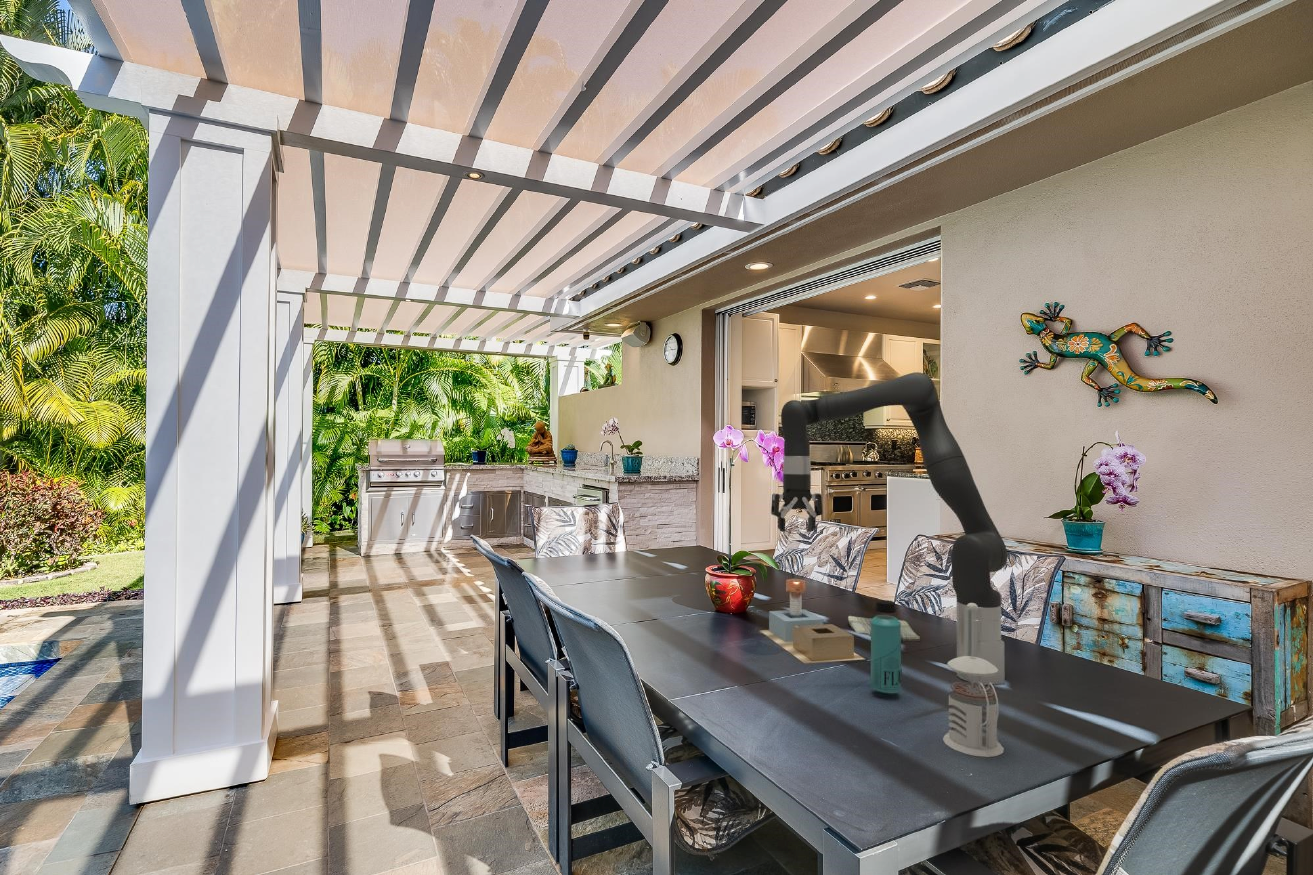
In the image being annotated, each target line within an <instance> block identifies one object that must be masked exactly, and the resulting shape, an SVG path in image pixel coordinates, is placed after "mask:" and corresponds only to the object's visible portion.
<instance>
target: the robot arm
mask: <svg viewBox="0 0 1313 875" xmlns="http://www.w3.org/2000/svg"><path fill="white" fill-rule="evenodd" d="M890 406H902V407H903V408H902V409H904V410H905V412H906V414H907V415H908V417H909V419H910V422H911V424H912V426H913V427H914V429H915V433H916V435H917V438H918V443H919V447H920V453H921V457H922V460H923V464H924V467H925V470H926V473H927V475H928V478H929V480H930V483H931V485H932V487H933V489H934V491H935V492H936V493H937V495H938V496H939V497H940V498H941V499H942V501H943V502H944V504H946V505H947V506H948V507H949V509H950V510H952V511H953V513H954V514H955V516H956V517H957V519H958V521H959V523H960V524H961V527H962V529H963V531H964V534H963V535H960V536H959V537H957V538H956V539H955V541H953V544H952V547H951V552H950V554H951V555H950V556H951V557H950V559H951V577H952V580H951V581H952V582H951V583H952V587H953V590H954V592H955V596H956V597H955V598H956V658H958V657H962V656H972V620H971V610H968V609H966V608H967V605H968V604H969V603H975V604H976V605H977V606H978V610H977V611H973V656H974V657H978V658H982V659H984V660H986V661H988V662H989V663H991V664H992V665H994V666H995V667H996V668H997V669H998V671H997V673H996V674H994V675H991V676H973V683H974V684H975V683H976V684H979V683H980V682H981V683H982V685H983V686H988V683H989V682H990V683H991V684H992V685H1003V684H1005V681H1006V680H1005V642H1004V640H1002V597H1001V596H1002V594H1001V593H1000V592H999V591H998V590H996V589H994V588H993V587H992V583H991V582H992V581H991V573H995V572H996V573H997V572H999V571H1001V570H1002V569H1003V568H1004V567H1005V566H1006V564H1007V560H1008V549H1007V546H1006V544H1005V541H1004V539H1003V537H1002V536H1001V534H1000V532H999V530H998V528H997V527H996V525H995V523H994V521H993V520H992V518H991V516H990V514H989V512H988V510H987V508H986V505H985V503H984V501H983V498H982V496H981V494H980V491H979V489H978V487H977V485H976V482H975V481H974V478H973V474H972V472H971V469H970V466H969V465H968V462H967V459H966V457H965V455H964V453H963V451H962V449H961V447H960V445H959V442H958V441H957V440H956V438H955V436H954V434H953V433H952V432H951V430H950V428H949V427H948V424H947V422H946V419H945V417H944V414H943V409H942V407H941V404H940V399H939V394H938V390H937V388H936V385H935V383H934V381H933V379H932V378H931V377H930V376H929V375H927V374H926V373H923V372H918V371H917V372H916V371H915V372H912V373H907V374H903V375H901V376H898V377H895V378H893V379H890V380H889V379H888V380H887V381H883V382H881V383H877V384H874V385H869V386H866V387H862V388H858V389H853V390H850V391H848V390H847V391H843V392H836V393H833V394H832V393H831V394H826V395H823V396H820V397H818V398H815V399H810V400H803V401H801V400H796V399H791V400H789V401H787V402H786V403H784V405H783V406H782V408H781V413H780V421H781V422H780V424H781V429H782V434H783V440H784V441H783V442H784V443H783V461H782V462H783V463H782V491H783V492H782V494H779V493H772V495H771V508H770V509H771V511H770V514H771V516H775V517H777V530H779V532H782V533H784V532H786V515H787V514H788V513H789V512H790V511H791V510H803V511H805V512H806V514H807V515H808V517H807V530H808V531H809V532H814V531H815V530H816V527H817V526H816V524H817V522H816V521H817V520H816V519H817V517H818V516H822V515H823V500H822V499H823V498H822V496H823V495H822V494H821V493H818V492H815V493H811V489H812V487H811V486H812V482H811V481H812V480H811V479H812V476H811V475H812V474H811V473H812V471H811V470H812V468H811V464H812V463H811V457H810V456H811V455H810V454H811V448H810V447H811V446H810V443H811V442H810V438H809V436H808V434H807V426H811V425H815V424H817V423H818V424H819V423H822V422H829V421H837V420H843V419H848V418H853V417H855V416H858V415H862V414H864V413H866V412H869V411H872V410H874V409H879V408H884V407H890ZM811 500H812V502H813V506H812V505H811V504H810V501H811ZM781 501H783V502H784V503H783V504H782V505H781V507H780V502H781ZM956 676H957V677H958V678H959V679H961V680H963V681H965V682H968V683H969V682H970V683H971V682H972V675H967V674H962V673H959V672H956ZM980 685H981V684H980Z"/></svg>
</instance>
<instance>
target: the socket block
mask: <svg viewBox="0 0 1313 875" xmlns="http://www.w3.org/2000/svg"><path fill="white" fill-rule="evenodd" d="M768 617H769V618H768V624H769V625H768V630H769V631H770V632H771V633H773V634H774V635H776V636H777V637H778V638H780V639H781V640H783V641H784V642H793V626H807V625H824V619H823V618H822V617H820V616H818V615H817V614H814V613H813V612H811V611H809V610H807V609H802V618H790V609H789V610H771V611H770V610H769V611H768Z"/></svg>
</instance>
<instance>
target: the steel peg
mask: <svg viewBox="0 0 1313 875" xmlns="http://www.w3.org/2000/svg"><path fill="white" fill-rule="evenodd" d="M785 585H786V586H785V590H786V593H789V610H790V618H802V610H803V609H802V607H803V605H802V604H803V600H802V599H803V598H802V595H803V594H805V593H806V580H804V579H801V578H787V579H786V580H785Z"/></svg>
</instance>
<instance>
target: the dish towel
mask: <svg viewBox="0 0 1313 875" xmlns="http://www.w3.org/2000/svg"><path fill="white" fill-rule="evenodd" d="M872 619H873V618H869V617H868V618H867V617H862V616H853V615H849V616H848V617H847V620H848V623H849V626H850V628H851V629H853V630H854V631H855V633H856V634H865V635H867V636H869V637H871V623H870V621H871V620H872ZM898 620H899V621H900V623H901V635H902V636H901V641H902V642H915V641H920V642H921V639H920V638H921V637H920V636H919V635H917V633H916V632H915V631H914V630H913V629H912V627H911V626H910V624H909V623H908V622H907V621H906V620H900V619H898Z"/></svg>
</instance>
